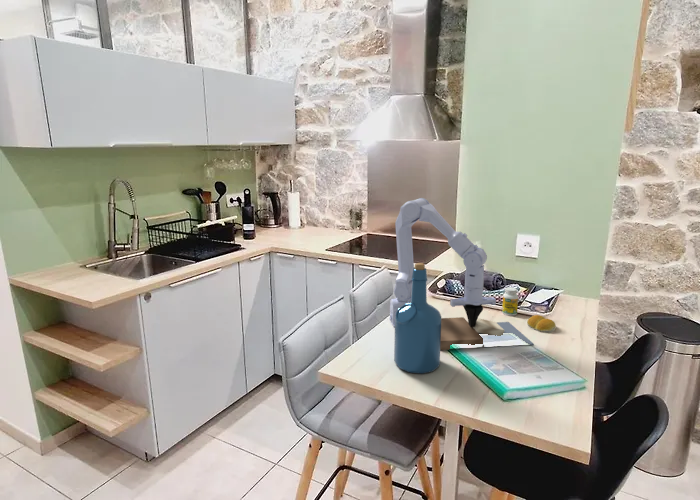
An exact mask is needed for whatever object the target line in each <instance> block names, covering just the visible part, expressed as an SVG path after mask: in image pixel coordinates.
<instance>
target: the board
mask: <svg viewBox="0 0 700 500" xmlns="http://www.w3.org/2000/svg"><path fill="white" fill-rule="evenodd" d="M452 344H468V345H469V344H471V345H475V344H483V338H482V337H481V336H480V335H479V334H478V333H477V331H476V330H475V329H474V328H473V327H470V326H469V323H468V320H467V319H466V318H465V317H464V316H461V317H444V318H443V317H442V320H441V344H440V351H447V350H449V349H450V345H452ZM449 351H450V350H449Z"/></svg>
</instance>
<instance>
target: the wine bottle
mask: <svg viewBox="0 0 700 500" xmlns="http://www.w3.org/2000/svg"><path fill="white" fill-rule="evenodd" d="M427 273H428V272H427V268H426V265H425V263H423V262H415V263H414V268H413V273H412V279H411V280H412V293H411V302H410V303H407V304H405V305H403V306H401V307H400V308H399V309H398V310H397V312H396V316H395V327H394V350H393V351H394V354H393V355H394V356H393V357H394V359H393V360H394V363H395V365H396V366H397V367H398V368H399V369H400V370H403V371H405V372H408V373H410V374H411V373H412V374H425V373H426V374H427V373H433V372H434V371H436V370H437V369H438V368H439V366H440V363H441V350H440V344H441V320H442V318H443V317H442V314H441V312H440V311H439V309H437V308H436V307H434V306H433V305H432V304H430V303H428V302H427V300H428V299H427V298H428V297H427V296H428V295H427V294H428V293H427V292H428V291H427V284H428V283H427V281H428V274H427Z"/></svg>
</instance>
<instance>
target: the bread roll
mask: <svg viewBox="0 0 700 500" xmlns="http://www.w3.org/2000/svg"><path fill="white" fill-rule="evenodd" d="M526 324H527V325H528V327H529V328H531V329H532V330H535V331H537V332H540V333H551V332H554V331H555V330H556V325H557V324H556V322H555V321H554V320H553V319H550V318H546V317H544V316H542V315H540V314H535V315H532V316H531V317H529V318H528V319H526Z"/></svg>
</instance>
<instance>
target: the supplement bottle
mask: <svg viewBox="0 0 700 500" xmlns="http://www.w3.org/2000/svg"><path fill="white" fill-rule="evenodd" d="M504 291H505V293H503V295H502V306H501V307H502V309H501V310H502V311H501V313H502V314H503V315H506V316H509V317H513V316H516V315H517V314H518V307H519V295H518V294H517V288H516V287H505V290H504Z"/></svg>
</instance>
